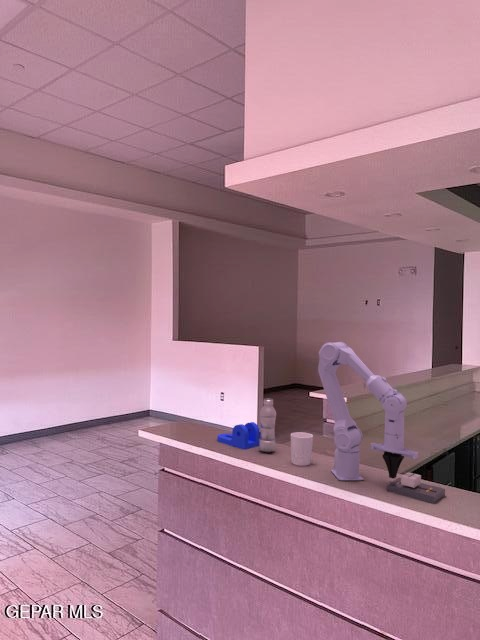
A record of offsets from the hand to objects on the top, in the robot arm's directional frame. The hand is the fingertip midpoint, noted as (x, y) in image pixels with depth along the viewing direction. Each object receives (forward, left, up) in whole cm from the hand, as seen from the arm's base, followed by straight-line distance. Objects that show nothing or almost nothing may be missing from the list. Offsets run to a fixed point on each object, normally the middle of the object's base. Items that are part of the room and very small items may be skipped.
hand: (392, 477), depth 151 cm
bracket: (-52, -44, -3) cm, 68 cm away
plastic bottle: (-39, -33, -3) cm, 51 cm away
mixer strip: (+5, +5, -3) cm, 8 cm away
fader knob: (+4, +4, -1) cm, 6 cm away
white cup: (-25, -23, -3) cm, 34 cm away
